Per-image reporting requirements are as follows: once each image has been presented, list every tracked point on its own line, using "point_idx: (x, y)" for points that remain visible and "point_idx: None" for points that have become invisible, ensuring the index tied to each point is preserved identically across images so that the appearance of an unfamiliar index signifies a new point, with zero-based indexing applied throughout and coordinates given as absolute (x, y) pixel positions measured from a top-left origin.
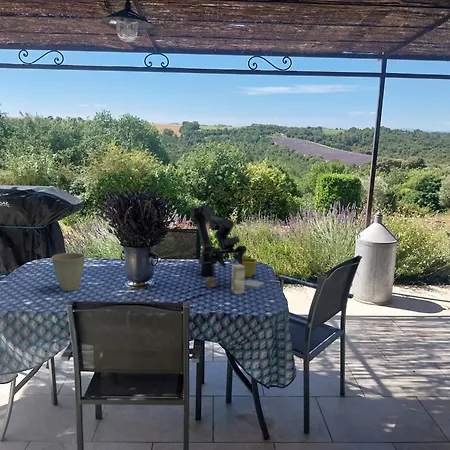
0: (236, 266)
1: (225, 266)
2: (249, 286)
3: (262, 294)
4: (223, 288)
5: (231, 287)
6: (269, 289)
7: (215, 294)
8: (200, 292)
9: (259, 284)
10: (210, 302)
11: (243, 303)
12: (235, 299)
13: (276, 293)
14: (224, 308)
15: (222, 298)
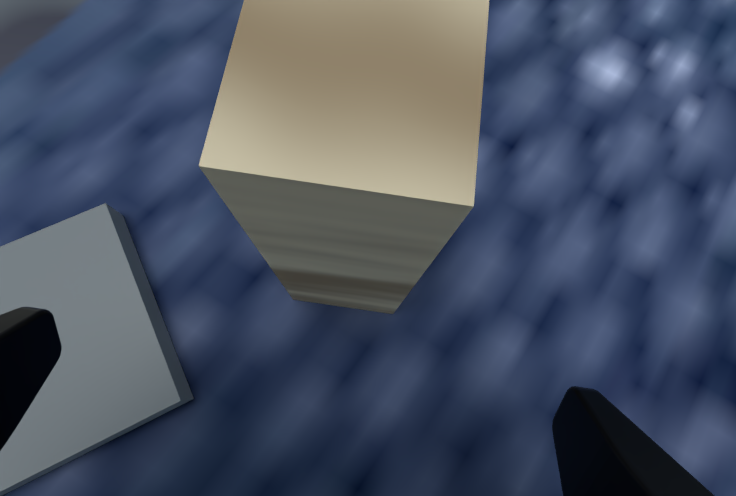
0: (442, 52)
1: (578, 387)
2: (143, 290)
3: (195, 86)
4: (406, 459)
5: (397, 307)
6: (8, 160)
7: (595, 316)
8: (719, 467)
9: (5, 259)
10: (732, 154)
11: (493, 8)
12: (497, 107)
13: (65, 44)
14: (681, 3)
15: (588, 184)
